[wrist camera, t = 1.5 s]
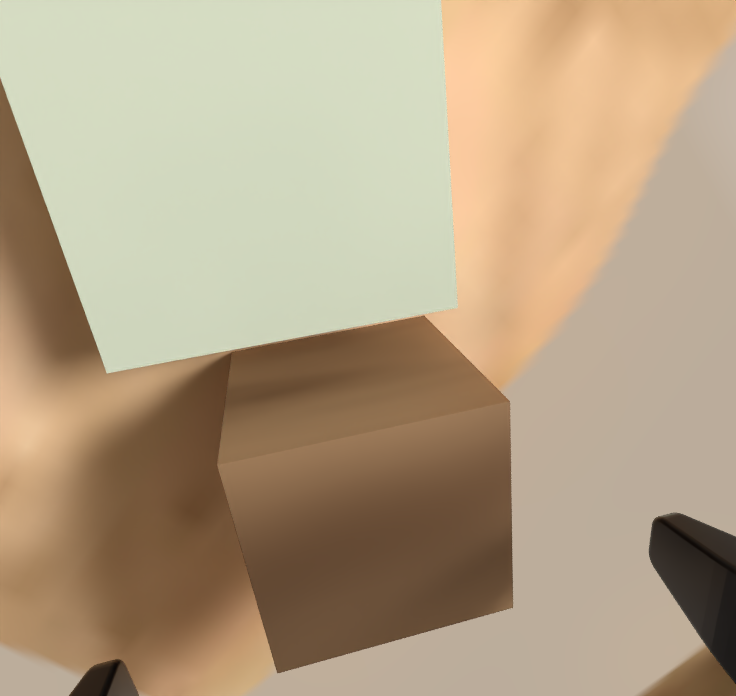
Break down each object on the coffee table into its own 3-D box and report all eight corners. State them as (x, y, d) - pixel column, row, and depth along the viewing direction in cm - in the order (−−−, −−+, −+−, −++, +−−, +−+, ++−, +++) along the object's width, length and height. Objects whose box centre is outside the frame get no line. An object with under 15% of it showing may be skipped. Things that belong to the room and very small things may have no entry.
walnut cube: (436, 470, 15) (513, 607, 11) (271, 508, 14) (277, 673, 10) (422, 315, 13) (510, 401, 9) (232, 350, 13) (216, 464, 8)
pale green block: (421, 279, 13) (457, 307, 10) (135, 330, 12) (107, 373, 9) (394, -60, 10) (434, -120, 8) (19, -30, 9) (-61, -91, 7)
